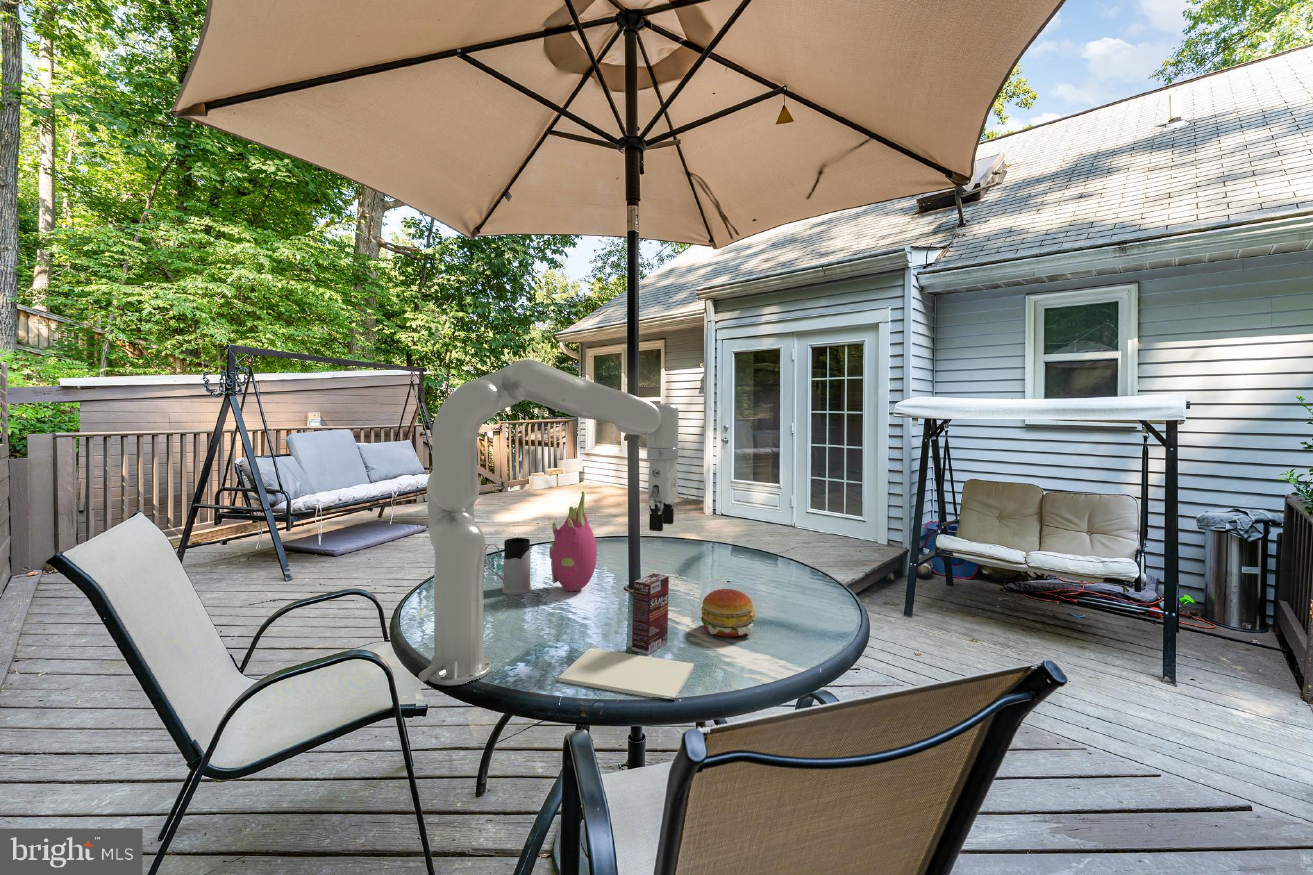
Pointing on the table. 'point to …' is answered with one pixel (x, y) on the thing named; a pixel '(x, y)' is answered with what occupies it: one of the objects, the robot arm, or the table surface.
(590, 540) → the pink dragon fruit
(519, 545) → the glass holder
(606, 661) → the placemat
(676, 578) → the table surface
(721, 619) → the burger
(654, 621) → the supplement box
